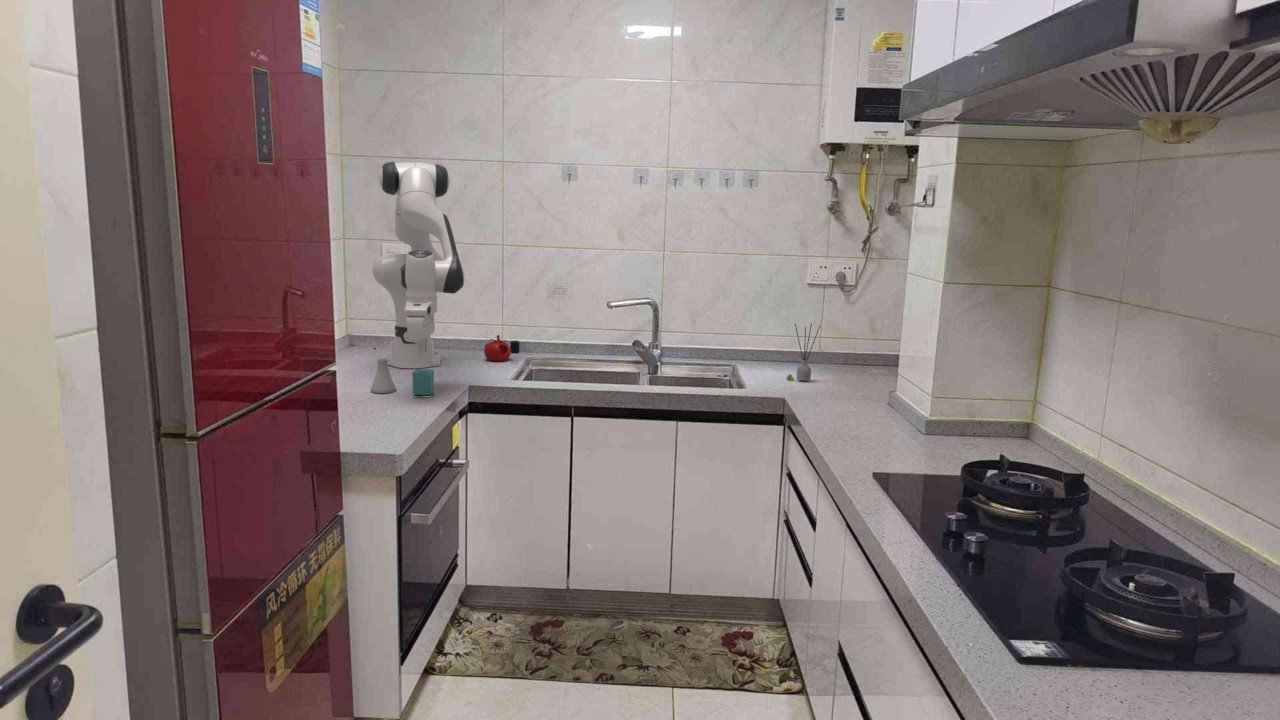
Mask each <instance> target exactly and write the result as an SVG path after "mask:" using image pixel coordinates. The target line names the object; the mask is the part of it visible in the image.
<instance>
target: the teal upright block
mask: <svg viewBox="0 0 1280 720" xmlns="http://www.w3.org/2000/svg"><path fill="white" fill-rule="evenodd" d="M411 375H412V395H413V396H414V395H431V394H432V393H433V392H435V369H427V368H426V369H425V368H415V370H414V371H413V372H412V374H411Z"/></svg>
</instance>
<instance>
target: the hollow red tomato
mask: <svg viewBox="0 0 1280 720" xmlns="http://www.w3.org/2000/svg"><path fill="white" fill-rule="evenodd" d="M500 337H501V336H500V335H499V334H498V335H496V339H492V338H490V339H489V340H488V342H487V343H486V344H484V348H483V354H484V356H485V358H486V359H487V360H488V361H490V362H506V361H507V360H508V359H509V358H510V357H511V355H512V354H511V353H512V348H511V347H510V346H509V344H508V343H509V341H508V340H507V339H505V340H502V338H500ZM509 360H510V359H509Z"/></svg>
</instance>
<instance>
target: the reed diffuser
mask: <svg viewBox="0 0 1280 720" xmlns="http://www.w3.org/2000/svg"><path fill="white" fill-rule="evenodd" d="M794 326H795V331H796V336H797V340H798V344H799V345H798V346H799V350H800V355H801V364H800V365H799V366H798V367H797V369H796V379H797V380H798V381H810V380H811V375H812V368H811V366H809V365H808V359H809V356H810V354H811V351H812V348H813V347H814V346H813V345H814V343H815V341H816V338H817V335H818V334H819V333H818V332H819V330H820V328H821V325H819V326H818V329H817V331H816V334H815V337H814V339H813V342H812V344H811V347H810V349H809V353H808V354H807V352H808V348H809V347H808V345H809V341H810V336H811V330H812V326H813V325H812V322H811V323H810V327H809V334H808V338H807V343H806V342H803V343H804V345H803V352H802V349H801V348H802V347H801V343H800V338H799V333H798V328H797V324H796V323H794ZM806 334H807V326H805V327H804V340H806V336H807V335H806ZM786 380H788V381H789V380H790V381H794V377H793V374H792V373H789V374H787V375H786Z"/></svg>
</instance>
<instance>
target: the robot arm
mask: <svg viewBox="0 0 1280 720" xmlns="http://www.w3.org/2000/svg"><path fill="white" fill-rule="evenodd" d="M378 181H379V185H380V187H381V190H382V191H383V192H384V193H385V194H388V195H391V196H395V195H396V200H395V209H394V210H395V213H394V234H395V237H396V238H397V239H398V240H399V241H400V242H402V243H404V244H406V245H407V246H408V247H409V246H410V249H411V251H409V252H407V253H391V254H385V255H381V256H378V257H377V258H376V259H375V261H374V262H373V265H372V275H373V278H374V280H375V281H376V282H377V283H378V284H379V285H380V286H381V287H383V288H384V289H385V290H386V291H387V293H389V295H390V296H391V300H392V301H393V305H394V312H395V325H394V336H395V337H394V339H393V340H391V341H390V360H388V362H387V364H388V366H392V367H394V368H398V369H399V368H400V369H425V368H430V367H431V368H432V367H437V366H442V365H441V355H438V354H437V351H435V342H434V341H433V339H432V337H431V336H432V335H433V334H434V333H435V328H436V326H435V314H436V313H438V296H437V293H443V294H453V295H454V294H456V293H458V292H459V291H460V290H461V289H462V288H463V287H464V284H465V271H464V269H463V266H462V263H461V261H460V257H459V254H458V250H457V246H456V241H455V237H454V234H453V228H452V227H451V223H450V220H449V218H448V216H447V214H444V213H443V212H442V211H441V210H440V209H439V207H438V205H437V198H441V197H443V196H445V195H446V194H447V193H448V190H449V188H450V182H451V179H450V175H449V173H448V169H447V168H446V167H445V166H443V165H441V164H431V163H427V162H418V161H415V162H413V161H411V162H410V161H409V162H408V161H407V162H405V161H404V162H402V161H400V162H395V161H389V162H385V163H384V164H382V166H381V169H380V171H379V175H378ZM430 235H433V236H434V237H436V238H437V239H438V240H439V241H440V244H441V249H442V252H443V256H442V255H441V254H440V253H438V252H437V251H436V249H435V247H434V246H433V244H432V241H431V237H430Z"/></svg>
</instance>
